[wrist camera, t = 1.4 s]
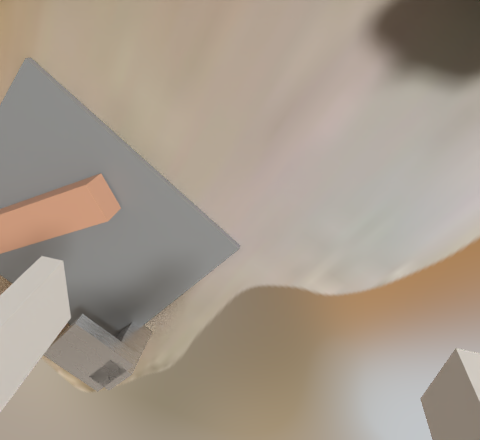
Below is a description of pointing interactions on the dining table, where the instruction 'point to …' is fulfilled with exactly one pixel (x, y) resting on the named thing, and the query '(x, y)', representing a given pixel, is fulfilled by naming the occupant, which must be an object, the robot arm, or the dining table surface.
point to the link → (57, 213)
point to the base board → (108, 233)
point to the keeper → (98, 352)
